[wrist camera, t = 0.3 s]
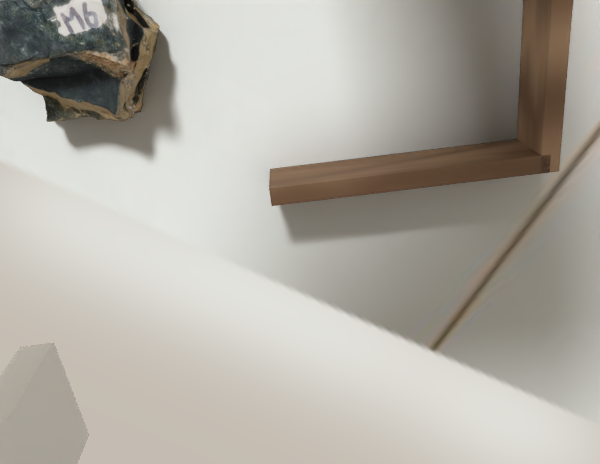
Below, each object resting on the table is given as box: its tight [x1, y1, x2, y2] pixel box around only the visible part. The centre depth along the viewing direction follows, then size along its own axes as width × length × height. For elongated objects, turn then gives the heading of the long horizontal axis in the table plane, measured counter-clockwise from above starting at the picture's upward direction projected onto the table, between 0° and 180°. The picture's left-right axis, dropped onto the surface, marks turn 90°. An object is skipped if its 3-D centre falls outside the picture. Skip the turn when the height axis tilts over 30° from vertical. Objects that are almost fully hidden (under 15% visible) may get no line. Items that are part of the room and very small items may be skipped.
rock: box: [0, 0, 159, 122], centre depth 33 cm, size 9×9×6 cm
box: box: [269, 0, 573, 206], centre depth 33 cm, size 22×19×4 cm
